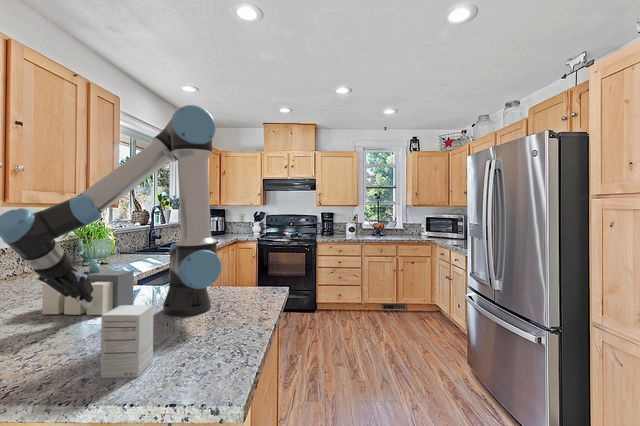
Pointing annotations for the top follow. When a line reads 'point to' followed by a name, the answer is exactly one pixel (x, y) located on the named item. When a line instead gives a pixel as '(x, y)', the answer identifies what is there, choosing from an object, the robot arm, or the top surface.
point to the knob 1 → (52, 301)
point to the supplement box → (126, 341)
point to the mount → (120, 289)
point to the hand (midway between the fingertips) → (91, 305)
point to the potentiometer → (94, 267)
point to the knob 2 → (102, 297)
